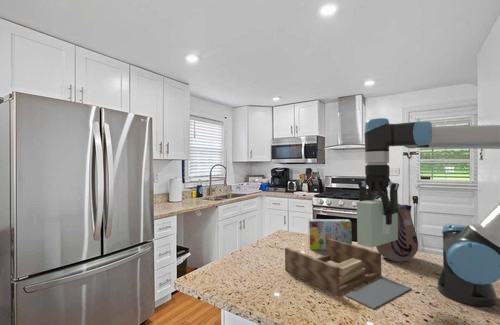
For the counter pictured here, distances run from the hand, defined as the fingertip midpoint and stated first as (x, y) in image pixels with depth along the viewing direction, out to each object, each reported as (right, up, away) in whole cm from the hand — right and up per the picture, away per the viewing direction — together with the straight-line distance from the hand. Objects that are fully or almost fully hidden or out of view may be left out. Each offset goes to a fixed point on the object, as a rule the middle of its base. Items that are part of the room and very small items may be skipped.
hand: (378, 232), depth 90 cm
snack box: (-2, -22, +47) cm, 52 cm away
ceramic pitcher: (+22, -21, +32) cm, 44 cm away
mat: (0, -21, 0) cm, 21 cm away
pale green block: (0, -3, 0) cm, 3 cm away
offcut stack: (-7, -21, +10) cm, 24 cm away
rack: (-11, -21, +16) cm, 29 cm away
